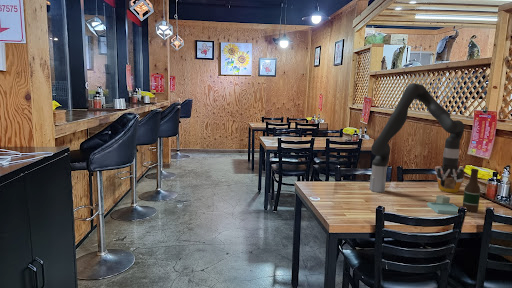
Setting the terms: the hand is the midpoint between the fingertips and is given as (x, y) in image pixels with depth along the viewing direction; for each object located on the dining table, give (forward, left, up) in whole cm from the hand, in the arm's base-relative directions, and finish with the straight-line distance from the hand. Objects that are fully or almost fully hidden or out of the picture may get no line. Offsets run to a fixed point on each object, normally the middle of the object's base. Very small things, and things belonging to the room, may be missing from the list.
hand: (447, 186), depth 194 cm
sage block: (+3, +10, -14) cm, 18 cm away
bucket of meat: (+22, +43, -14) cm, 50 cm away
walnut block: (0, 0, -1) cm, 1 cm away
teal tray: (0, 0, -14) cm, 14 cm away
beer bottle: (+14, +1, -14) cm, 20 cm away
